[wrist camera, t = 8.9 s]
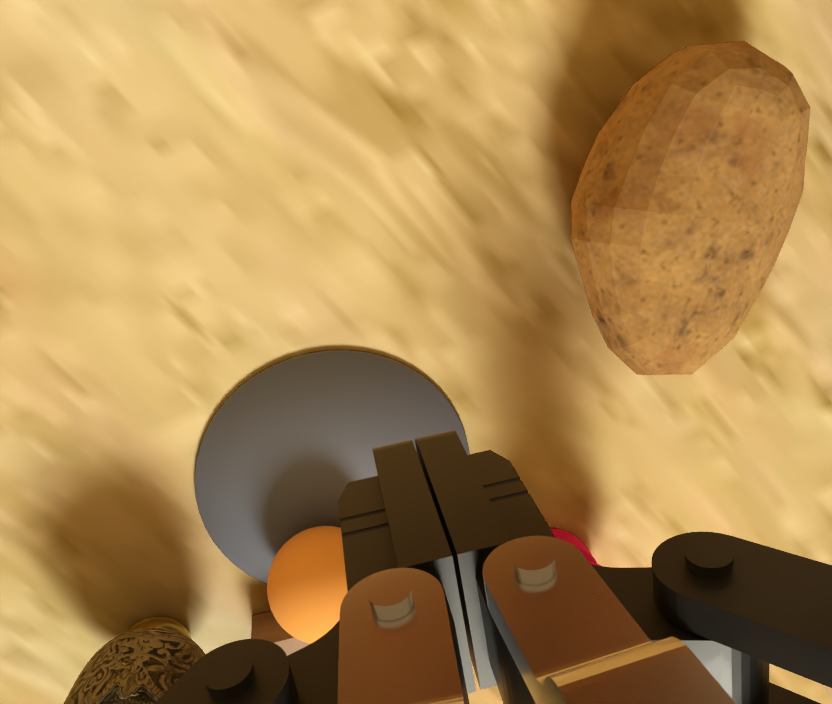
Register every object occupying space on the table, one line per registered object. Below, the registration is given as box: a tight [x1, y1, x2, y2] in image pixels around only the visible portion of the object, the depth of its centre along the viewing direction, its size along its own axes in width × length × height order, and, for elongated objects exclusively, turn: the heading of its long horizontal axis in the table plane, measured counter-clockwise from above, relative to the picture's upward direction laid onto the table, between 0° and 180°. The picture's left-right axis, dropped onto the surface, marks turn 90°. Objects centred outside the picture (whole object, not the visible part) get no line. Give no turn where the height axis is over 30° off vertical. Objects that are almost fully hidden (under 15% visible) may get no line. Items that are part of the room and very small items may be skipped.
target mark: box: [195, 350, 469, 584], centre depth 37 cm, size 14×14×1 cm
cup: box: [64, 617, 205, 704], centre depth 35 cm, size 8×7×8 cm
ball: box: [267, 526, 348, 644], centre depth 36 cm, size 6×6×6 cm
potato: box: [571, 41, 810, 375], centre depth 31 cm, size 10×14×8 cm
